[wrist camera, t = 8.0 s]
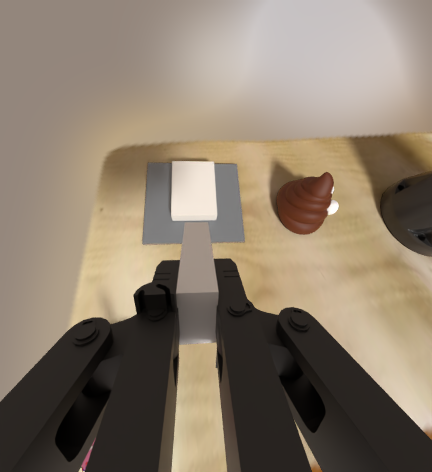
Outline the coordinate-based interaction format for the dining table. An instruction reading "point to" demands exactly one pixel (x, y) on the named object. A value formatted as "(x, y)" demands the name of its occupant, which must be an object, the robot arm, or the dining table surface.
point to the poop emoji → (306, 203)
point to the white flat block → (193, 191)
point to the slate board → (171, 232)
